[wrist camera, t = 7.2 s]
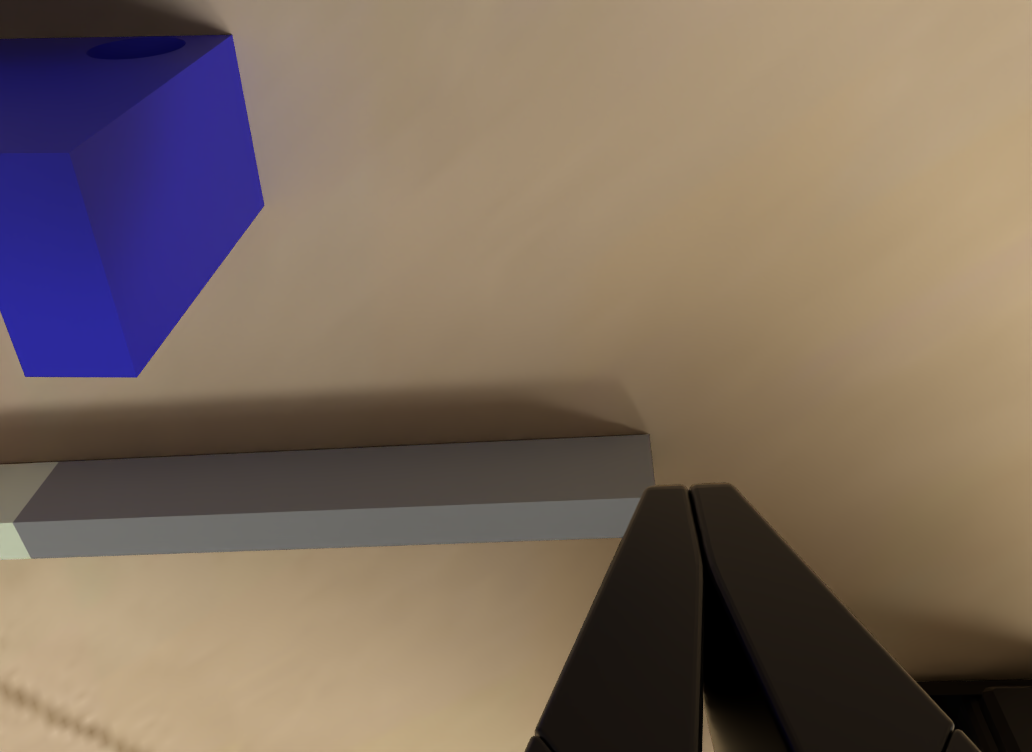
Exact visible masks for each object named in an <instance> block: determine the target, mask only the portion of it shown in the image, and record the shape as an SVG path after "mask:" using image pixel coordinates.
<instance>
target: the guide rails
mask: <svg viewBox="0 0 1032 752" xmlns="http://www.w3.org/2000/svg"><path fill="white" fill-rule="evenodd" d="M649 486H655V480H654V471H653V462H652V454H651V445H650V437H649V434H647V435H625V436H604V437H582V438H560V439H539V440H517V441H496V442H474V443H453V444H431V445H410V446H388V447H367V448H345V449H324V450H302V451H281V452H259V453H237V454H216V455H194V456H173V457H151V458H130V459H108V460H87V461H65V462H44V463H22V464H1V465H0V560H7V559H35V558H64V557H92V556H120V555H148V554H176V553H204V552H232V551H260V550H288V549H316V548H344V547H372V546H400V545H428V544H456V543H485V542H513V541H541V540H569V539H597V538H623V536H624V533H625V531H626V529H627V527H628V525H629V522H630V520H631V518H632V516H633V514H634V511H635V509H636V507H637V505H638V503H639V501H640V498H641V496H642V494H643V492H644V490H645V489H646V488H647V487H649Z"/></svg>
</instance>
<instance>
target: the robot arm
mask: <svg viewBox="0 0 1032 752" xmlns="http://www.w3.org/2000/svg"><path fill="white" fill-rule="evenodd" d="M703 699H704V706H705V711H706V716H707V721H708V726H709V730H710V735H711V739H712V743H713V747H714V752H1032V679H1030V680H979V681H929V682H916V681H915V680H914V679H913V678H912V677H911V676H910V675H909V674H908V673H907V672H906V671H905V669H904V668H903V667H902V666H901V665H900V664H899V663H898V662H897V661H896V660H895V659H894V658H893V657H892V655H891V654H890V653H889V652H888V651H887V650H886V649H885V648H884V647H883V646H882V645H881V644H880V643H879V642H878V640H877V639H876V638H875V637H874V636H873V635H872V634H871V633H870V632H869V631H868V630H867V629H866V628H865V626H864V625H863V624H862V623H861V622H860V621H859V620H858V619H857V618H856V617H855V616H854V615H853V614H852V612H851V611H850V610H849V609H848V608H847V607H846V606H845V605H844V604H843V603H842V602H841V601H840V600H839V599H838V597H837V596H836V595H835V594H834V593H833V592H832V591H831V590H830V589H829V588H828V587H827V586H826V585H825V583H824V582H823V581H822V580H821V579H820V578H819V577H818V576H817V575H816V574H815V573H814V572H813V571H812V569H811V568H810V567H809V566H808V565H807V564H806V563H805V562H804V561H803V560H802V559H801V558H800V557H799V556H798V554H797V553H796V552H795V551H794V550H793V549H792V548H791V547H790V546H789V545H788V544H787V543H786V542H785V540H784V539H783V538H782V537H781V536H780V535H779V534H778V533H777V532H776V531H775V530H774V529H773V528H772V526H771V525H770V524H769V523H768V522H767V521H766V520H765V519H764V518H763V517H762V516H761V515H760V514H759V513H758V511H757V510H756V509H755V508H754V507H753V506H752V505H751V504H750V503H749V502H748V501H747V500H746V499H745V497H744V496H743V495H742V494H741V493H740V492H739V491H738V490H737V489H736V488H735V487H734V486H733V485H731V484H729V483H704V484H693V485H692V486H691V487H690V489H689V491H688V489H687V488H686V486H684V485H655V486H649V487H647V488H646V489H645V490H644V492H643V494H642V496H641V498H640V501H639V503H638V505H637V507H636V509H635V511H634V514H633V516H632V518H631V520H630V522H629V525H628V527H627V529H626V531H625V533H624V536H623V538H622V540H621V542H620V544H619V547H618V549H617V551H616V553H615V555H614V558H613V560H612V562H611V564H610V566H609V569H608V571H607V573H606V575H605V577H604V579H603V582H602V584H601V586H600V588H599V590H598V593H597V595H596V597H595V599H594V601H593V604H592V606H591V608H590V610H589V612H588V615H587V617H586V619H585V621H584V623H583V626H582V628H581V630H580V632H579V634H578V636H577V639H576V641H575V643H574V645H573V647H572V650H571V652H570V654H569V656H568V658H567V661H566V663H565V665H564V667H563V669H562V672H561V674H560V676H559V678H558V680H557V683H556V685H555V687H554V689H553V691H552V694H551V696H550V698H549V700H548V702H547V704H546V707H545V709H544V711H543V713H542V715H541V718H540V720H539V722H538V724H537V726H536V729H535V736H533V737H531V739H530V741H529V743H528V745H527V747H526V749H525V752H702V735H703Z"/></svg>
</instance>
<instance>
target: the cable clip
mask: <svg viewBox="0 0 1032 752" xmlns="http://www.w3.org/2000/svg"><path fill="white" fill-rule="evenodd" d="M263 206H264V201H263V196H262V191H261V185H260V180H259V175H258V169H257V164H256V159H255V153H254V148H253V143H252V137H251V132H250V127H249V122H248V116H247V111H246V106H245V100H244V95H243V90H242V84H241V79H240V74H239V68H238V63H237V58H236V52H235V47H234V42H233V36H232V35H188V36H132V37H75V38H18V39H0V311H1V314H2V317H3V319H4V322H5V325H6V327H7V330H8V332H9V335H10V338H11V340H12V343H13V346H14V348H15V351H16V354H17V356H18V359H19V361H20V364H21V367H22V369H23V372H24V375H25V377H138V375H139V374H140V372H141V371H142V370H143V368H144V367H145V366H146V364H147V363H148V362H149V360H150V359H151V358H152V356H153V355H154V354H155V352H156V351H157V350H158V348H159V347H160V345H161V344H162V343H163V341H164V340H165V339H166V337H167V336H168V335H169V333H170V332H171V331H172V329H173V328H174V327H175V325H176V324H177V323H178V321H179V320H180V318H181V317H182V316H183V314H184V313H185V312H186V310H187V309H188V308H189V306H190V305H191V304H192V302H193V301H194V300H195V298H196V297H197V296H198V294H199V293H200V292H201V290H202V289H203V287H204V286H205V285H206V283H207V282H208V281H209V279H210V278H211V277H212V275H213V274H214V273H215V271H216V270H217V269H218V267H219V266H220V265H221V263H222V262H223V260H224V259H225V258H226V256H227V255H228V254H229V252H230V251H231V250H232V248H233V247H234V246H235V244H236V243H237V242H238V240H239V239H240V238H241V236H242V235H243V233H244V232H245V231H246V229H247V228H248V227H249V225H250V224H251V223H252V221H253V220H254V219H255V217H256V216H257V215H258V213H259V212H260V211H261V209H262V208H263Z"/></svg>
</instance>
